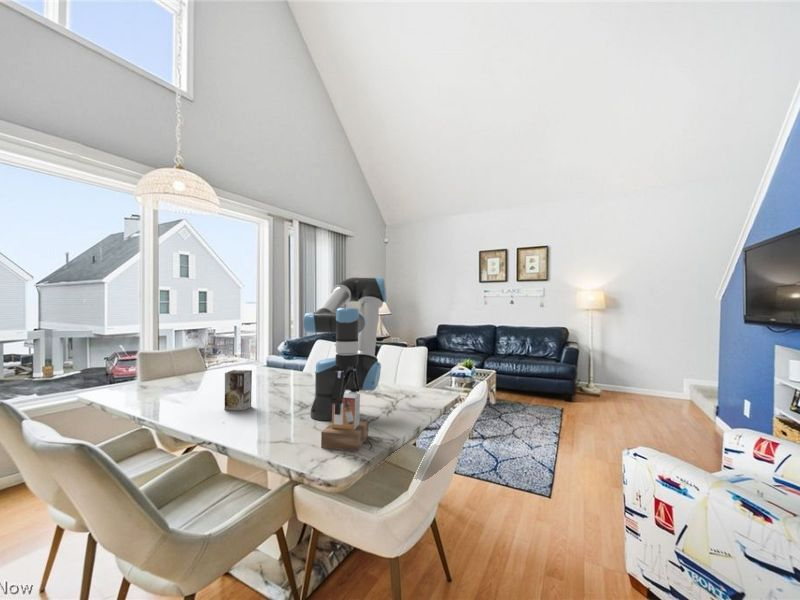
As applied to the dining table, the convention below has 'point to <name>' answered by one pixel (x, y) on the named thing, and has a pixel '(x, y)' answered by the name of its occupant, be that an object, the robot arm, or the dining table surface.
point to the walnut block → (344, 437)
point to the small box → (349, 412)
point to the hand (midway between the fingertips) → (345, 416)
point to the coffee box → (238, 389)
